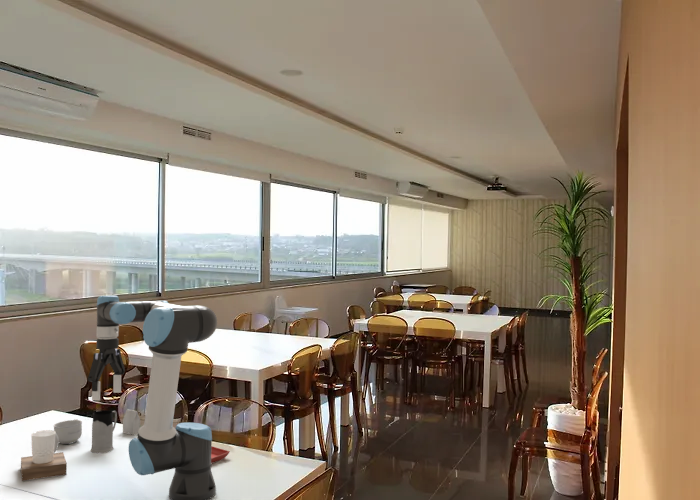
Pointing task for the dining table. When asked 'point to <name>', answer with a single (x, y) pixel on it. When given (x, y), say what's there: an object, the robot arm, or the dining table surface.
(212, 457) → the plant saucer
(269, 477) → the dining table surface
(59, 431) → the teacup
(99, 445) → the gray pitcher
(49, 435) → the white cup
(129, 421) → the tea bag
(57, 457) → the walnut base
